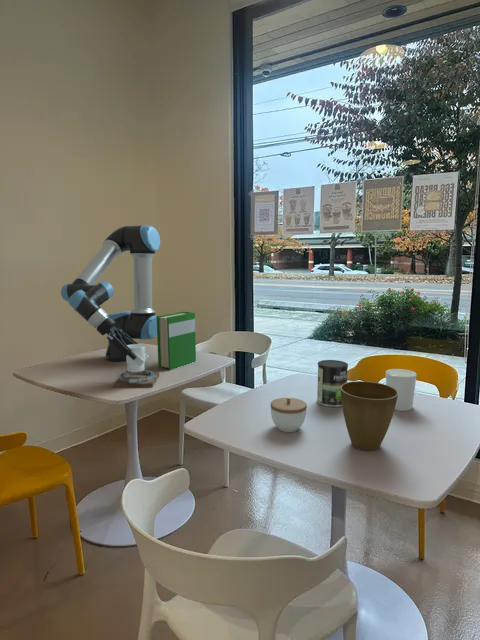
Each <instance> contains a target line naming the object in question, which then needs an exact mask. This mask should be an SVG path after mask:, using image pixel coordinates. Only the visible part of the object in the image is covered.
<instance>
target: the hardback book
mask: <svg viewBox="0 0 480 640" xmlns="http://www.w3.org/2000/svg"><path fill="white" fill-rule="evenodd" d="M156 316H157V336H156V338H157V365H158V369H162V368H167V369H168V371H172V370H175V369H178V367H179V368H182V367H184V365H185V366H187V364H188V365H190V363H191V364H193V363H192V362H194V363H196V362H197V350H196V348H197V347H196V344H197V343H196V341H197V340H196V313H195V312H194V311H193V312H192V311H177V312H172V313H166V314H161V315H156ZM195 361H196V362H195ZM181 366H182V367H181Z"/></svg>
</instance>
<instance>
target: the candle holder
mask: <svg viewBox="0 0 480 640" xmlns="http://www.w3.org/2000/svg"><path fill="white" fill-rule="evenodd" d="M417 377H418V376H417V373H416V371H413V370H409V369H404V368H391V369H387V370H385V385H388V386H391V387H393V388H395V389H396V390H397V391H398V397H397V402H396V406H395V410H394V411H399V412H407V411H411V410H412V409H413V406H414V399H415V390H416V381H417Z"/></svg>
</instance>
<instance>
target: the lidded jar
mask: <svg viewBox="0 0 480 640" xmlns="http://www.w3.org/2000/svg"><path fill="white" fill-rule="evenodd" d="M307 407H308V404H307V403H306V401H304V400H303V399H299V398H295V397H280V398H276V399H275V398H274V399H273V400H272V401H271V402H270V415H271V419H272V422H273V424H274V425H275V426H276V427H277V428H278V429H277V430H279V431H281V432H283V433H295V432H297V431H299V429H300V428H301V427H302V426H303V424H304V423H305V419H306V417H307Z"/></svg>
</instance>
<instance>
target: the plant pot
mask: <svg viewBox="0 0 480 640" xmlns="http://www.w3.org/2000/svg"><path fill="white" fill-rule="evenodd" d="M340 389H341V400H342V406H341V407H342V412H343V413H342V414H343V416H344V421H345V426H346V429H347V433H348V437H349V440H350V442H351V445H352V446H353V447H354V448H356V449H358V450H361V451H365V452H366V451H367V452H369V451H370V452H373V451H376V450H379V449H380V446H381V445H382V443H383V441H384V439H385V437H386V436H387V435H386V434H387V432H388V430H389V427H390V425H391V422H392V419H393V416H394V413H395V411H396V410H395V406H396V402H397V397H398V391H397V390H396V389H395V388H393V387H391V386H388V385H386V383H380V382H374V381H365V380H364V381H363V380H361V381H360V380H359V381H358V380H357V381H347V383H344V384H342V385H341V387H340Z"/></svg>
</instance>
